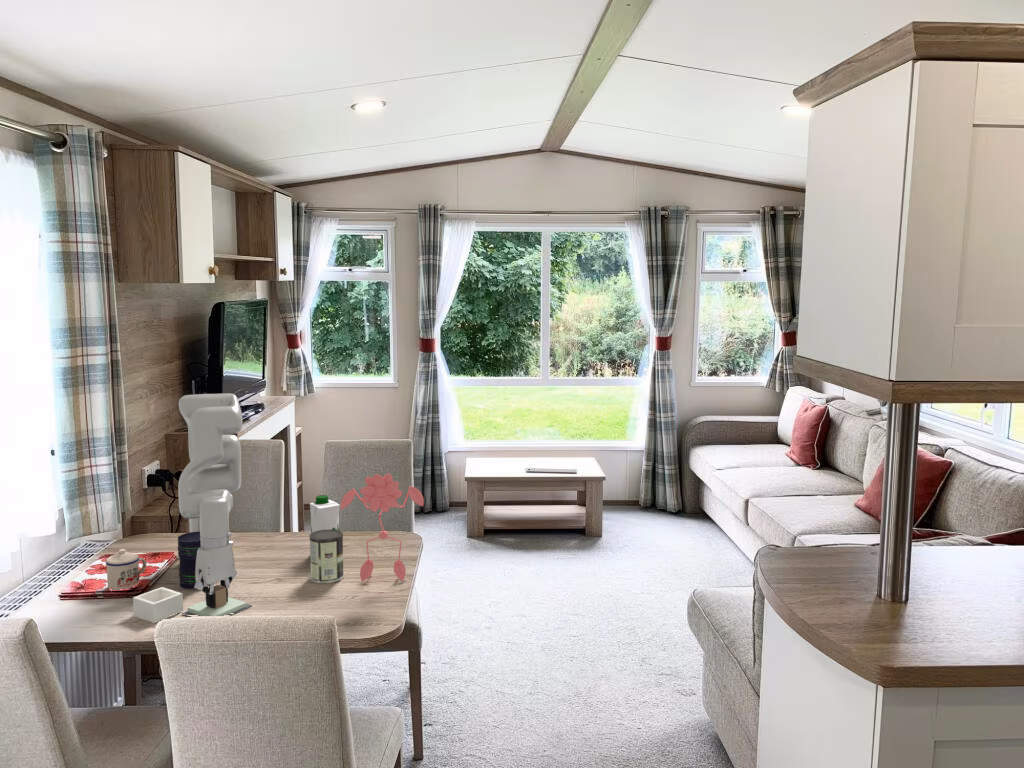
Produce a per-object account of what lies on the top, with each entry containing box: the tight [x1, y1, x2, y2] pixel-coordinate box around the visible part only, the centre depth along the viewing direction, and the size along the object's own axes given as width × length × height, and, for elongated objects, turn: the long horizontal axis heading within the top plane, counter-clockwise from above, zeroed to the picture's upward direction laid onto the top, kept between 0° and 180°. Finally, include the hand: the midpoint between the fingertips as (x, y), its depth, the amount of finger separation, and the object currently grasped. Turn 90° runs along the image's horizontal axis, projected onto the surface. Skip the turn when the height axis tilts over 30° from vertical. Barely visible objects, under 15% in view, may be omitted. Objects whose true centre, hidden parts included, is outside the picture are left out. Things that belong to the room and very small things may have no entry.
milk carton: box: [309, 494, 341, 534], centre depth 263 cm, size 9×9×20 cm
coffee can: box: [309, 529, 345, 584], centre depth 243 cm, size 10×10×14 cm
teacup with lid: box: [105, 548, 147, 590], centre depth 235 cm, size 12×9×12 cm
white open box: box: [132, 586, 184, 624], centre depth 215 cm, size 9×9×6 cm
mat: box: [181, 603, 253, 616], centre depth 218 cm, size 14×12×1 cm
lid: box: [187, 584, 247, 616], centre depth 218 cm, size 11×11×6 cm
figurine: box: [340, 473, 425, 594], centre depth 237 cm, size 15×26×35 cm, turn 91°
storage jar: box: [177, 531, 204, 591], centre depth 237 cm, size 10×10×15 cm
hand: (217, 603), depth 218 cm, fingers closed on lid, 3 cm apart
